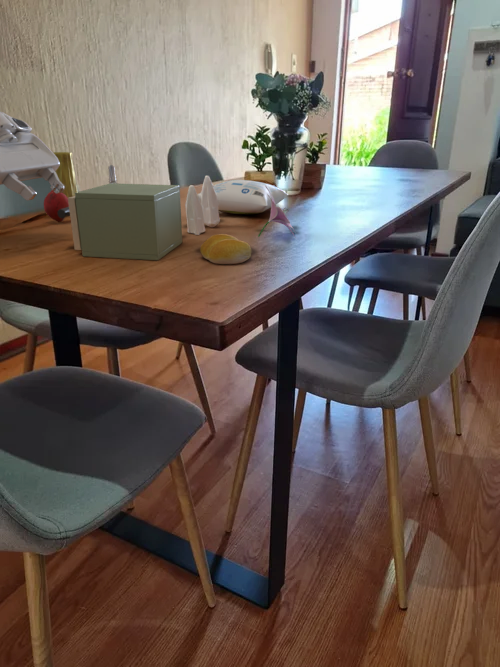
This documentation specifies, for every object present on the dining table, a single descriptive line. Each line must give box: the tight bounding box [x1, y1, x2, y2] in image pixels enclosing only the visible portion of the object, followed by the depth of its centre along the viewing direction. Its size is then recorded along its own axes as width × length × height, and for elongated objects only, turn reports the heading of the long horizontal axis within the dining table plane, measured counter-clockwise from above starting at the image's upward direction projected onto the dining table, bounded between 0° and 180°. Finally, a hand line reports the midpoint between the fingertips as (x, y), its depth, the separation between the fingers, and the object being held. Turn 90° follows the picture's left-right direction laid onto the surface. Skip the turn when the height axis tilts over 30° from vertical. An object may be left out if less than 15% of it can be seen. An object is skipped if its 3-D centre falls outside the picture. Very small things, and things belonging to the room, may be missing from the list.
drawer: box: [57, 196, 82, 251], centre depth 92 cm, size 17×13×9 cm
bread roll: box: [199, 233, 252, 265], centre depth 87 cm, size 8×9×4 cm
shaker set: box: [184, 175, 221, 236], centre depth 109 cm, size 12×4×11 cm, turn 156°
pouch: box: [197, 179, 289, 215], centre depth 129 cm, size 8×19×20 cm
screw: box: [107, 164, 118, 184], centre depth 112 cm, size 13×5×5 cm
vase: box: [52, 151, 78, 198], centre depth 128 cm, size 6×6×14 cm
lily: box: [257, 187, 297, 239], centre depth 103 cm, size 12×12×10 cm
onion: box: [43, 189, 69, 223], centre depth 116 cm, size 6×6×8 cm
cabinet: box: [75, 182, 183, 261], centre depth 91 cm, size 14×14×11 cm
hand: (47, 194), depth 92 cm, fingers open, 8 cm apart
